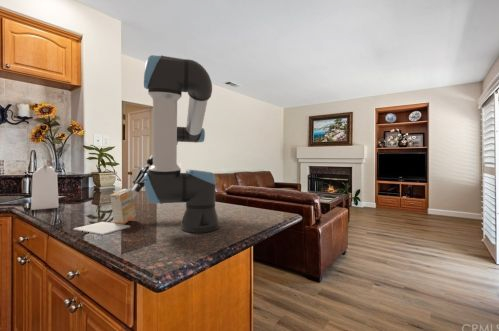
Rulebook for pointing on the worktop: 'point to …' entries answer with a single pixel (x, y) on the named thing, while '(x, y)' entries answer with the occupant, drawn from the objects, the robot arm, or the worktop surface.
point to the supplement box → (123, 206)
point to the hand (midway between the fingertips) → (130, 196)
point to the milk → (44, 188)
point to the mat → (102, 228)
